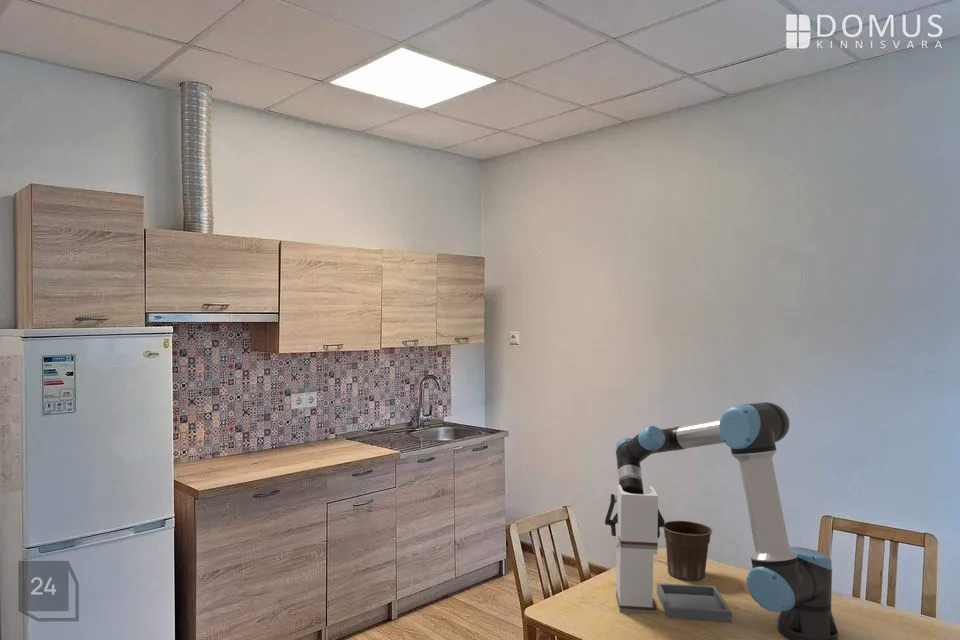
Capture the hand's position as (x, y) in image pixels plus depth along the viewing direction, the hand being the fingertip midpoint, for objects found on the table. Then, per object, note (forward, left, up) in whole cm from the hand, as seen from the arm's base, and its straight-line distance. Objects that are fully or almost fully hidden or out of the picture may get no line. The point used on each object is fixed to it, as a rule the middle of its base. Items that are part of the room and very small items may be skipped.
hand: (636, 546), depth 197 cm
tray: (-17, -2, -18) cm, 25 cm away
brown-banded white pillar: (0, -1, -18) cm, 18 cm away
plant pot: (-21, -28, -18) cm, 39 cm away
